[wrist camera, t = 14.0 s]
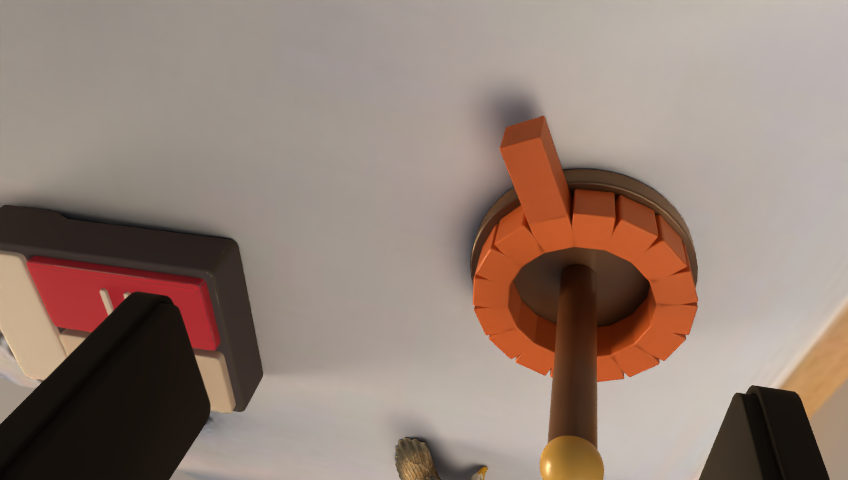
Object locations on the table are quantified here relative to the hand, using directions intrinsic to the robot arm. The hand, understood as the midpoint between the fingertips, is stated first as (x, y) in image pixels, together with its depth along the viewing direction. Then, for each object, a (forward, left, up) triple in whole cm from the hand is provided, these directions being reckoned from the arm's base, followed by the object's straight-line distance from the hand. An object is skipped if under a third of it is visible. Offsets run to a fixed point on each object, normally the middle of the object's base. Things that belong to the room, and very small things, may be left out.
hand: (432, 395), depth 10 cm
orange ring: (+8, 0, -16) cm, 17 cm away
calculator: (+5, -27, -17) cm, 32 cm away
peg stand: (+10, -1, -17) cm, 19 cm away
